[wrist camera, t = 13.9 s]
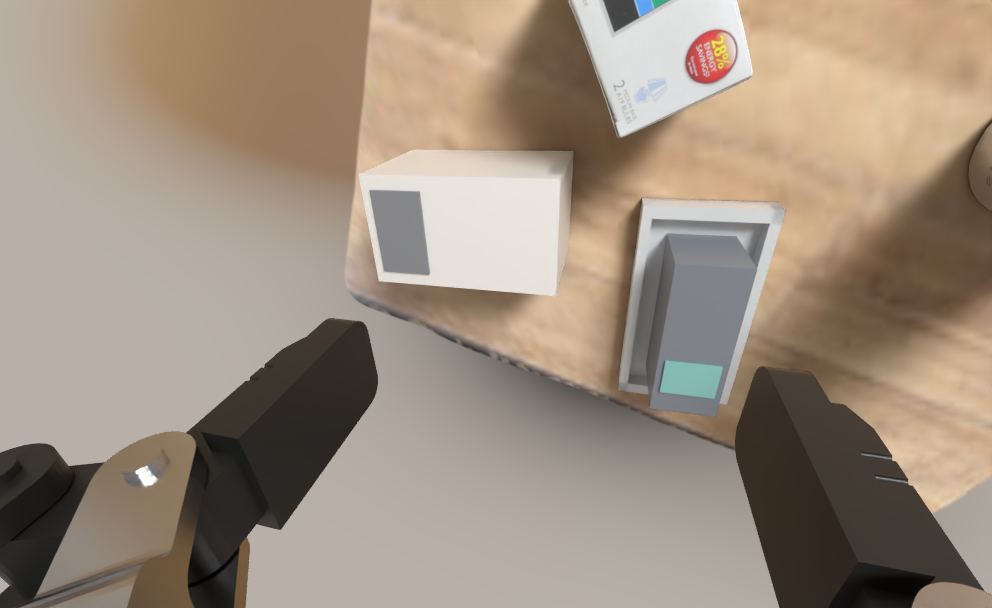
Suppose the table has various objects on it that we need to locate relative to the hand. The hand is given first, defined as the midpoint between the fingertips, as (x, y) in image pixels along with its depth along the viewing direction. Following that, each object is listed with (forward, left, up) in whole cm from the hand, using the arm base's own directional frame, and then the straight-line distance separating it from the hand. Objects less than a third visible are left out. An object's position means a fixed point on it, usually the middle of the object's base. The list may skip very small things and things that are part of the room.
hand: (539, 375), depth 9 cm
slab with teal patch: (-9, +13, -28) cm, 32 cm away
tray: (-9, +13, -28) cm, 32 cm away
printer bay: (+8, +4, -28) cm, 30 cm away
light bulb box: (-2, -8, -28) cm, 30 cm away
